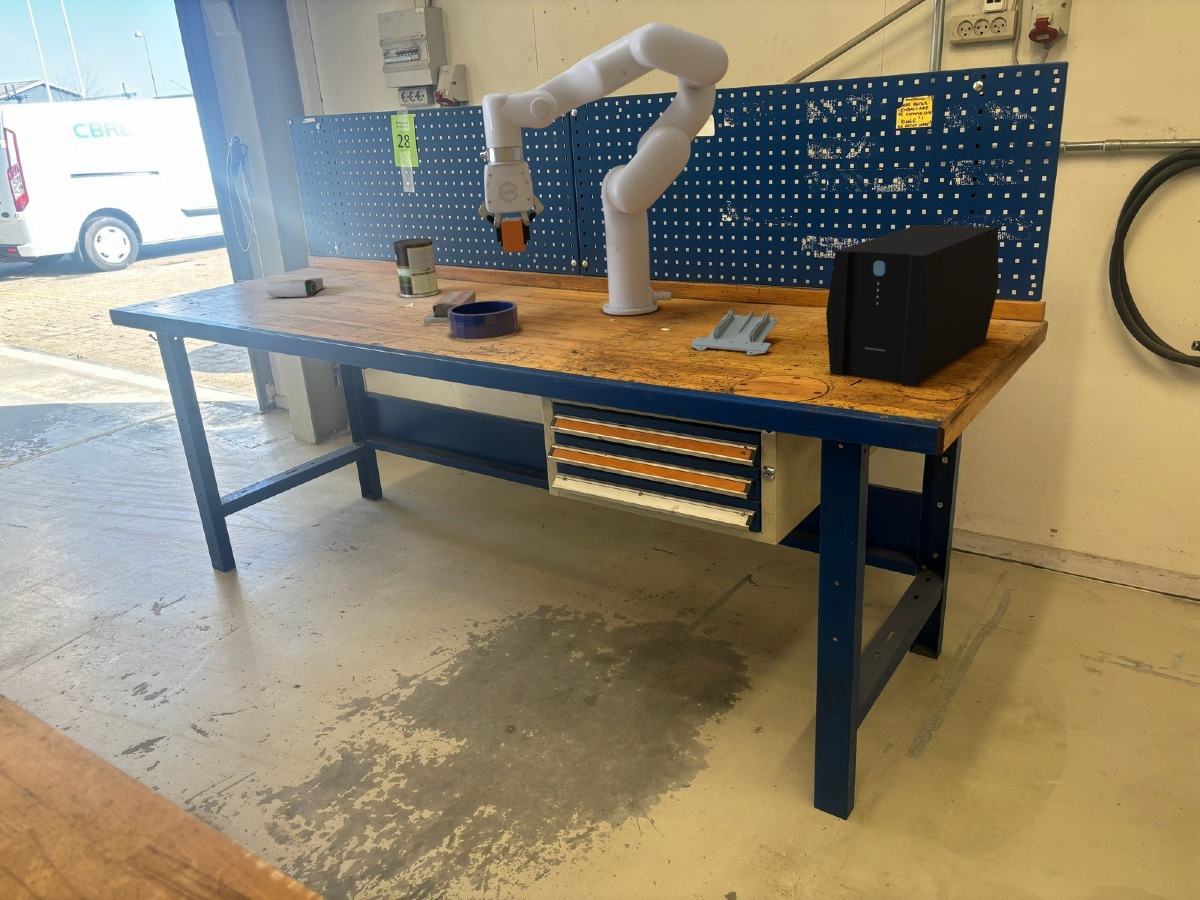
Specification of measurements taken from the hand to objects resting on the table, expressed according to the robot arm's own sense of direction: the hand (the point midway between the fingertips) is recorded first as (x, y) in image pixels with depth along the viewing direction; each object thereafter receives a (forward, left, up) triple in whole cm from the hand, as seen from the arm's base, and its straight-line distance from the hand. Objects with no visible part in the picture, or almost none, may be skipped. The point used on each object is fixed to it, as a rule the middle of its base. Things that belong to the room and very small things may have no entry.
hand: (514, 243), depth 186 cm
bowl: (+7, +10, -17) cm, 21 cm away
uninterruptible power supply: (-71, +48, -17) cm, 87 cm away
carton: (0, 0, -1) cm, 1 cm away
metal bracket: (-44, +32, -17) cm, 57 cm away
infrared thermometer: (+67, -54, -17) cm, 88 cm away
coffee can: (+30, -41, -17) cm, 54 cm away
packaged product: (+16, -9, -17) cm, 25 cm away
